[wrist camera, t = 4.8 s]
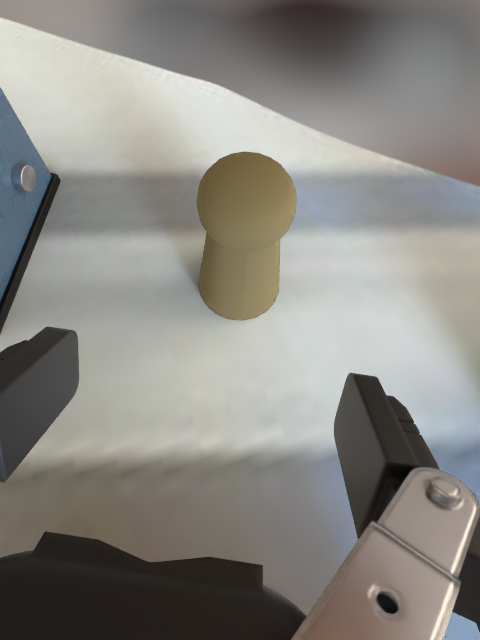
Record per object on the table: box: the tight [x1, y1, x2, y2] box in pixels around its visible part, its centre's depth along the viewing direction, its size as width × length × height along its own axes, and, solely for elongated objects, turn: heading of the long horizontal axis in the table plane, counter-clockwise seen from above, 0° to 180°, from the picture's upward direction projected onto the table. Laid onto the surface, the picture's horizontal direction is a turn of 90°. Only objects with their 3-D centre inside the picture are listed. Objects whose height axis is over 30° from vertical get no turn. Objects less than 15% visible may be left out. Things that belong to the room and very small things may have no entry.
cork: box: [197, 152, 296, 320], centre depth 24 cm, size 6×6×11 cm
